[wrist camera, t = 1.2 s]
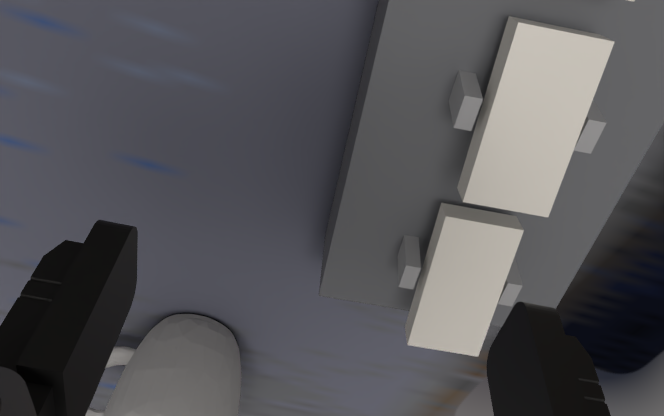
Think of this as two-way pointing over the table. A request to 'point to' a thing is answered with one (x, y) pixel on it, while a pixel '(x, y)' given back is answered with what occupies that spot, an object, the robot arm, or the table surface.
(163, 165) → the table surface
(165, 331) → the mug
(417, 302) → the rocker
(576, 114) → the rocker middle
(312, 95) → the table surface
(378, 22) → the switch unit
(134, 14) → the table surface
